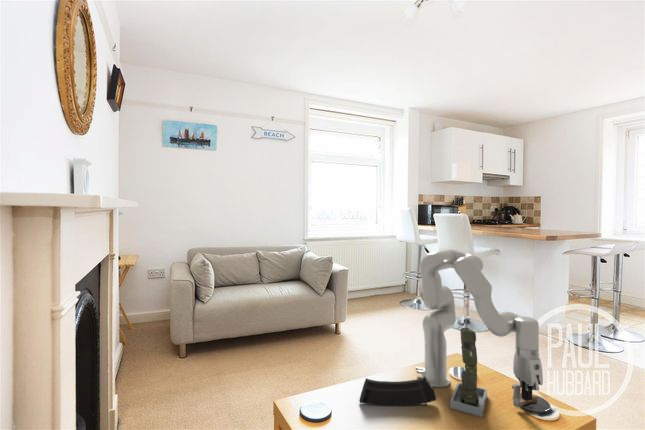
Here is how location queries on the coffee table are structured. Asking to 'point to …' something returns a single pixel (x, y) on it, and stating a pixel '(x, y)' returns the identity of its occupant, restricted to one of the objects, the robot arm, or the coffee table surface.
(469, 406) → the tray
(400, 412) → the coffee table surface
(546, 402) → the crank base
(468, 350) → the mechanical leg
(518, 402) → the crank
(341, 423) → the coffee table surface
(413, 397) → the magazine
